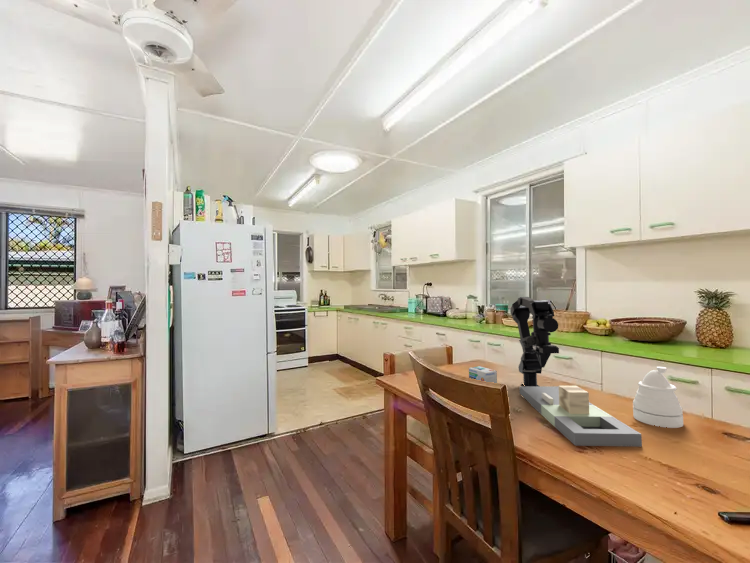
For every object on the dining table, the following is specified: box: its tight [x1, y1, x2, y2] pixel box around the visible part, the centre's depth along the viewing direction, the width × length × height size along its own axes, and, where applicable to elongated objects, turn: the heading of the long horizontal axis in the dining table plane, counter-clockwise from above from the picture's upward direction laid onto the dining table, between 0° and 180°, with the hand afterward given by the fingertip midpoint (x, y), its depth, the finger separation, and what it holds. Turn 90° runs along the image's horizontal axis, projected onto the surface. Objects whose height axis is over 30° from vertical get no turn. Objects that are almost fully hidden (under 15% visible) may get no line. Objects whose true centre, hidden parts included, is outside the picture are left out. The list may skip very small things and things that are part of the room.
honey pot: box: [632, 366, 684, 429], centre depth 113 cm, size 13×13×18 cm
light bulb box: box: [468, 365, 498, 384], centre depth 145 cm, size 11×7×11 cm, turn 25°
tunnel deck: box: [519, 385, 643, 448], centre depth 119 cm, size 47×18×6 cm, turn 175°
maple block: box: [558, 385, 590, 414], centre depth 115 cm, size 8×6×7 cm
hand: (542, 367), depth 140 cm, fingers closed
